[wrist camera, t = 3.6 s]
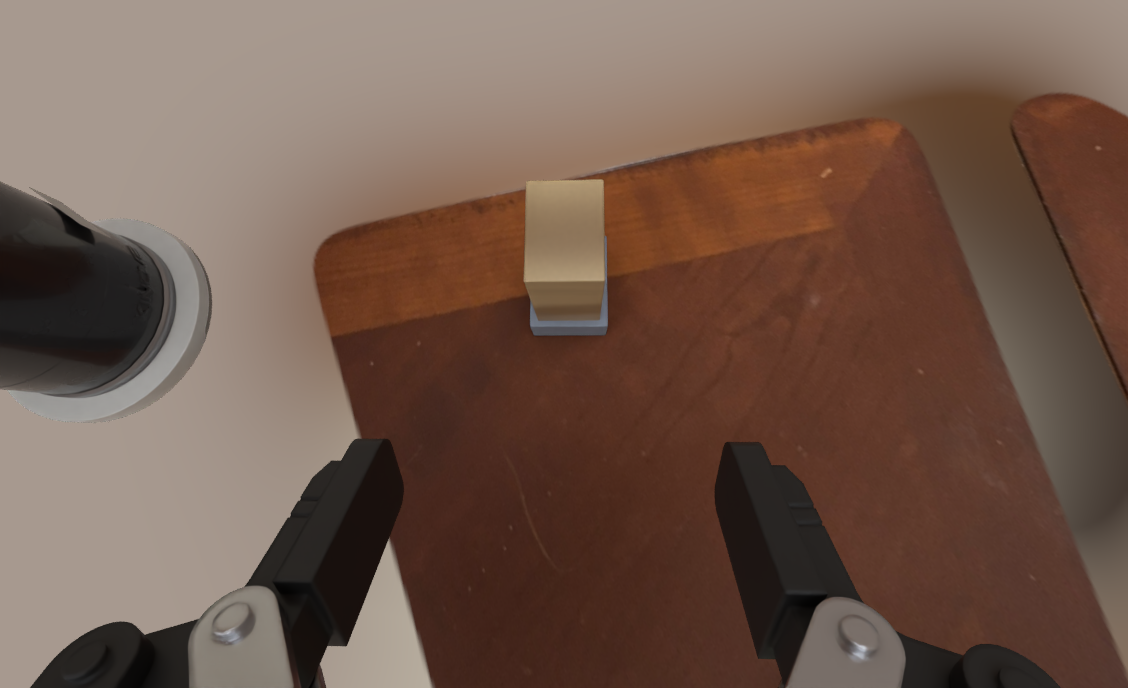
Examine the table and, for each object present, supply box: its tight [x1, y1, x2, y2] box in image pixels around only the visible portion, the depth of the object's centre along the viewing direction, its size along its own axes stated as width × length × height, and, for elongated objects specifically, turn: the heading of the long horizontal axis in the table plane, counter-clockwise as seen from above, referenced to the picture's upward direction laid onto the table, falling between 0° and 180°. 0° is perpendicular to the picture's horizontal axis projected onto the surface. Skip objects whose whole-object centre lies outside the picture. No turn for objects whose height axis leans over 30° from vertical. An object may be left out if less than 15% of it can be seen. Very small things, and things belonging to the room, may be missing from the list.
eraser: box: [524, 180, 608, 335], centre depth 23 cm, size 5×4×8 cm
